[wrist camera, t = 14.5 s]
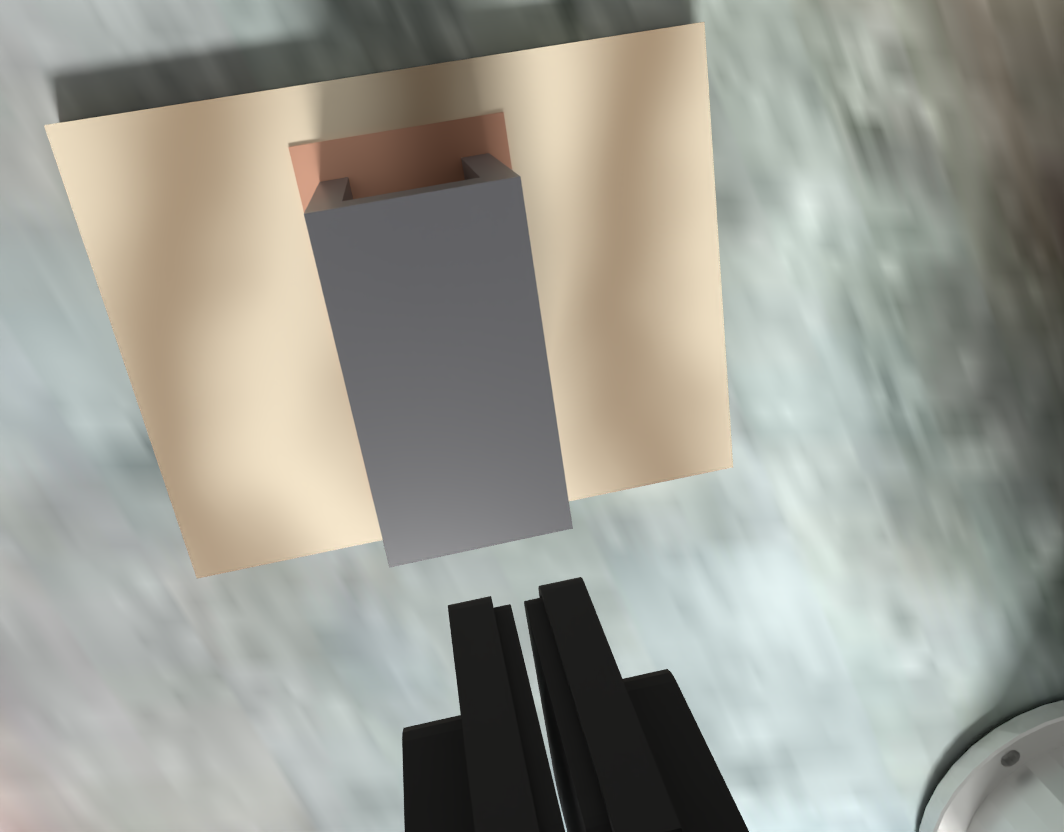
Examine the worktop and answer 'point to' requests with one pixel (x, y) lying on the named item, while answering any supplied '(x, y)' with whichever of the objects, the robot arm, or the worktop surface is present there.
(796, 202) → the worktop surface
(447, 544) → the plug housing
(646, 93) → the pin board
